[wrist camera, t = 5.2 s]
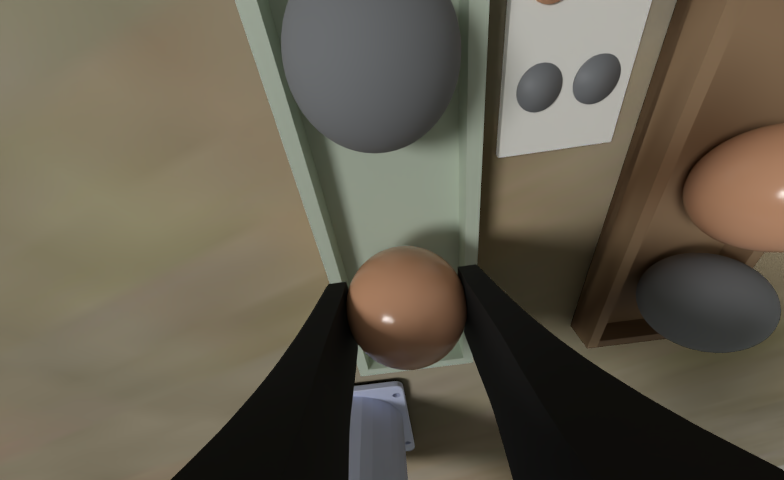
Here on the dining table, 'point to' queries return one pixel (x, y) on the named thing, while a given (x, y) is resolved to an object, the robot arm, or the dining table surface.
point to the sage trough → (453, 131)
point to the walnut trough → (681, 152)
